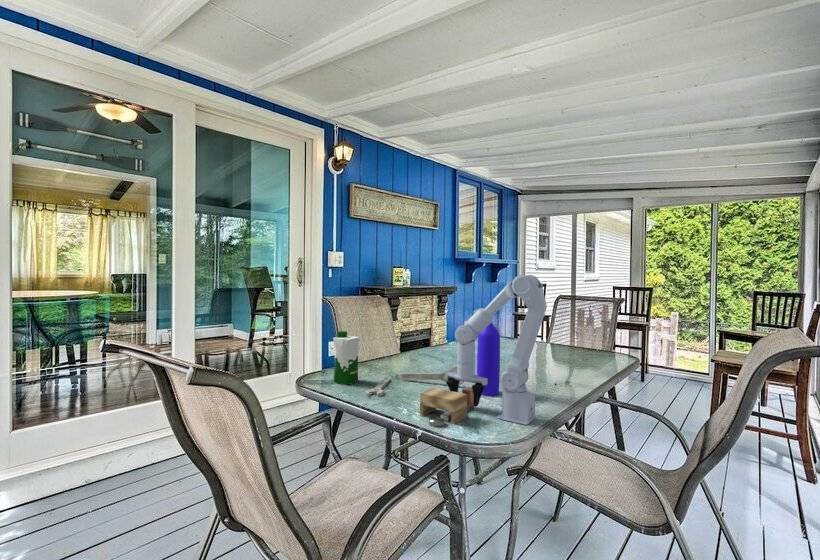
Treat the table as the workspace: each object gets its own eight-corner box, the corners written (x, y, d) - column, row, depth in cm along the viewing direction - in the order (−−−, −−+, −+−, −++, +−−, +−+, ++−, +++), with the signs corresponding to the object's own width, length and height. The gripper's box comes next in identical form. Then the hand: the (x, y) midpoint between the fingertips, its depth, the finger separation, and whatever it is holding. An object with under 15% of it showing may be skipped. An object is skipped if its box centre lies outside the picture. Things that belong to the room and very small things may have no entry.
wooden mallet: (474, 407, 140) (474, 389, 139) (448, 421, 126) (448, 401, 126) (466, 405, 141) (466, 387, 141) (439, 419, 127) (440, 399, 127)
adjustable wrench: (384, 380, 174) (384, 376, 174) (399, 382, 172) (399, 377, 172) (362, 397, 150) (362, 392, 150) (379, 399, 148) (379, 394, 148)
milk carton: (343, 378, 175) (343, 330, 175) (361, 380, 171) (362, 331, 171) (330, 382, 167) (330, 332, 167) (349, 385, 163) (350, 334, 163)
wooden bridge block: (466, 416, 130) (467, 394, 130) (453, 424, 123) (454, 400, 123) (433, 409, 137) (434, 387, 137) (419, 415, 130) (420, 393, 130)
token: (447, 424, 124) (447, 419, 124) (439, 429, 120) (439, 423, 120) (434, 421, 126) (434, 416, 126) (426, 425, 123) (426, 420, 123)
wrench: (397, 386, 175) (467, 386, 163) (396, 387, 173) (466, 387, 162) (396, 366, 175) (465, 365, 163) (394, 367, 174) (464, 366, 162)
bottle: (502, 392, 157) (504, 312, 157) (494, 397, 150) (495, 313, 150) (482, 388, 162) (483, 310, 161) (472, 393, 155) (474, 312, 154)
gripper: (491, 362, 136) (491, 404, 136) (452, 357, 145) (452, 396, 145) (482, 366, 131) (481, 410, 131) (442, 360, 139) (441, 401, 139)
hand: (465, 403), depth 137 cm, fingers open, 7 cm apart
